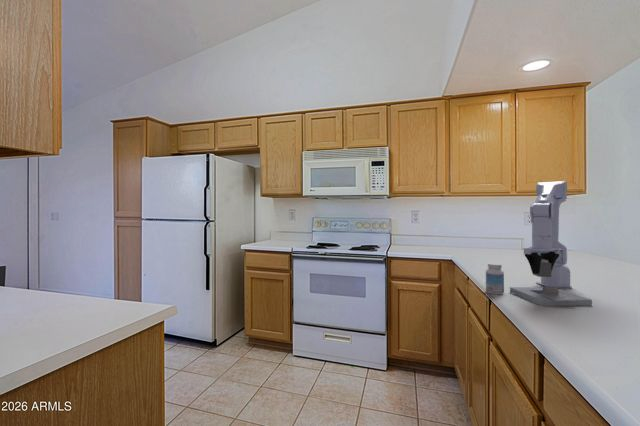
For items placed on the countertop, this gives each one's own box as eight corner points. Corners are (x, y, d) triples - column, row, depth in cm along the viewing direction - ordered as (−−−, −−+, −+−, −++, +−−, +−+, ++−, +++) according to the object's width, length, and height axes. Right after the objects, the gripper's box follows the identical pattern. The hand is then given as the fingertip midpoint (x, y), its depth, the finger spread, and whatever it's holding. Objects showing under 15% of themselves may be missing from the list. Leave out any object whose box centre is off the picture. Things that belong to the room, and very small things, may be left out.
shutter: (558, 294, 103) (558, 286, 103) (574, 300, 96) (575, 291, 96) (540, 294, 103) (540, 286, 103) (555, 300, 96) (555, 291, 96)
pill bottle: (507, 294, 111) (507, 265, 110) (491, 294, 111) (491, 265, 111) (498, 290, 117) (498, 262, 117) (482, 290, 117) (482, 262, 117)
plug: (544, 274, 108) (544, 259, 108) (551, 277, 104) (551, 260, 104) (532, 274, 109) (532, 258, 109) (539, 276, 105) (539, 260, 105)
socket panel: (553, 292, 114) (553, 287, 114) (591, 305, 98) (591, 299, 98) (510, 292, 114) (510, 287, 114) (541, 305, 98) (541, 299, 98)
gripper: (545, 234, 112) (545, 269, 112) (516, 235, 108) (516, 271, 109) (565, 236, 105) (565, 273, 105) (534, 237, 102) (534, 275, 102)
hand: (541, 272), depth 107 cm, fingers closed on plug, 5 cm apart
